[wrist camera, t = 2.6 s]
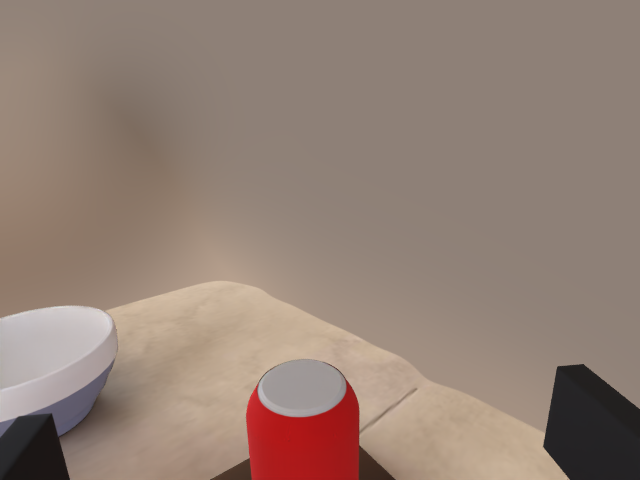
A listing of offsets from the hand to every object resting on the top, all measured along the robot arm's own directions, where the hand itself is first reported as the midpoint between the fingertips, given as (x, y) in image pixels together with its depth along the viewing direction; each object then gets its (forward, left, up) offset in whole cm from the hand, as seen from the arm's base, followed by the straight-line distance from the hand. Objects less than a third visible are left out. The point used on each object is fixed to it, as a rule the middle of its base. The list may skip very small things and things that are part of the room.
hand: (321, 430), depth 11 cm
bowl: (-32, -8, -18) cm, 38 cm away
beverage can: (-8, +5, -18) cm, 20 cm away
